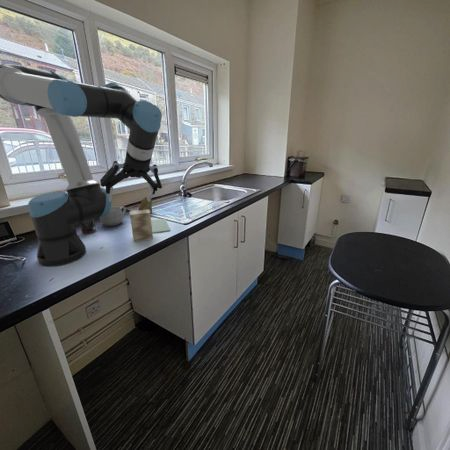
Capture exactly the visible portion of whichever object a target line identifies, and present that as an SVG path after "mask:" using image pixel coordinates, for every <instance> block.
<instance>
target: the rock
mask: <svg viewBox="0 0 450 450" xmlns="http://www.w3.org/2000/svg"><path fill="white" fill-rule="evenodd" d="M152 204H153V200H152V199H151V200H150V202H148V200H147V196H146V197H144V198H142V199H141V201H140V204H139V207H138V210H148V209H149V211H150V213H152V212H153V207H152ZM138 210H137V211H138Z"/></svg>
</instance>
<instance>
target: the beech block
mask: <svg viewBox="0 0 450 450" xmlns="http://www.w3.org/2000/svg"><path fill="white" fill-rule="evenodd" d="M151 216H152V215H151V212H150V211H149V209H148V210H129V218H130V224H131V231H132V238H133V239H132V240H133V242H140V241H146V240H153V239H154V235H153V234H154V233H152V224H151V220H152V217H151Z"/></svg>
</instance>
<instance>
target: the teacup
mask: <svg viewBox="0 0 450 450" xmlns="http://www.w3.org/2000/svg"><path fill="white" fill-rule="evenodd" d="M122 209H123V211H122ZM126 212H127V208H126V206H123V205H121V206H111V209H110V212H109V213H108V214H107V215H105V216H102V217H100V218H99V220H100V222H101V224H103V225H104V226H107V227H112V226H117V225H119V224H121V222H122V221H123V219H124V215H125V214H126Z"/></svg>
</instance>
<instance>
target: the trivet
mask: <svg viewBox="0 0 450 450" xmlns="http://www.w3.org/2000/svg"><path fill="white" fill-rule="evenodd" d="M151 224H152V233H153V234H159V233H165V232H166V233H167V232H171V228H170V226H169V224H168V222H167V220H166V218H159V219H157V218H156V219H151Z"/></svg>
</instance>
